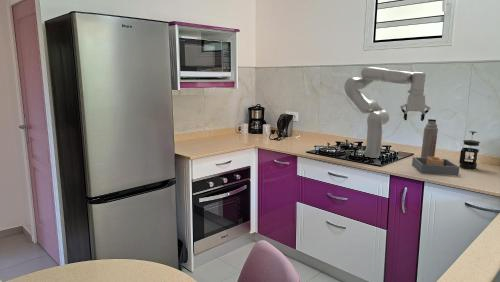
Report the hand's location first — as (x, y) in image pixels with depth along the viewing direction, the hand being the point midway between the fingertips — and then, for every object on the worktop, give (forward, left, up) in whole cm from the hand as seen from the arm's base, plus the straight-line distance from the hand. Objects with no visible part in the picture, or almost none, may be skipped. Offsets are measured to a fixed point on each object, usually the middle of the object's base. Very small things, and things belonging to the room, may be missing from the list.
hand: (413, 120), depth 220 cm
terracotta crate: (+12, -10, -27) cm, 31 cm away
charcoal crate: (+12, -10, -28) cm, 32 cm away
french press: (+35, +2, -28) cm, 45 cm away
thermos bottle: (+15, +14, -28) cm, 35 cm away
